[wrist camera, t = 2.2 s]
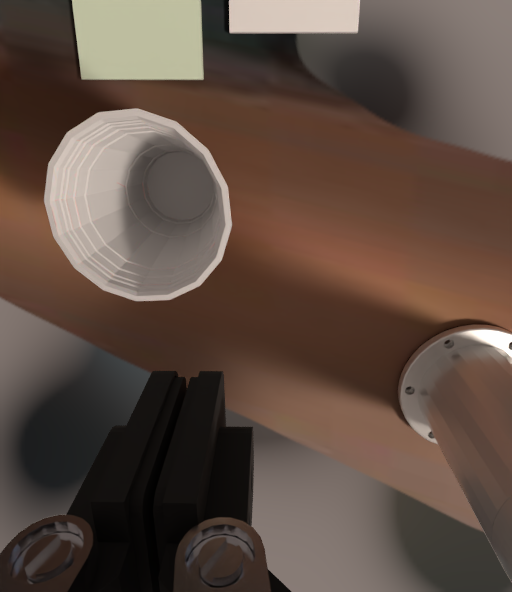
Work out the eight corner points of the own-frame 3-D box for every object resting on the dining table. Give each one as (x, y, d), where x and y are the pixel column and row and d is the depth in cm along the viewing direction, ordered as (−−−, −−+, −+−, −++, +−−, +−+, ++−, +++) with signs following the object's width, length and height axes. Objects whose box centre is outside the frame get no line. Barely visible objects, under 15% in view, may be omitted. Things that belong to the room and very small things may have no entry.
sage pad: (198, -70, 30) (197, -72, 29) (203, 80, 33) (203, 79, 32) (65, -69, 30) (63, -71, 29) (83, 79, 33) (81, 79, 33)
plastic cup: (89, 138, 34) (1, 143, 23) (221, 95, 33) (194, 78, 22) (140, 266, 38) (85, 324, 27) (261, 233, 37) (256, 279, 25)
